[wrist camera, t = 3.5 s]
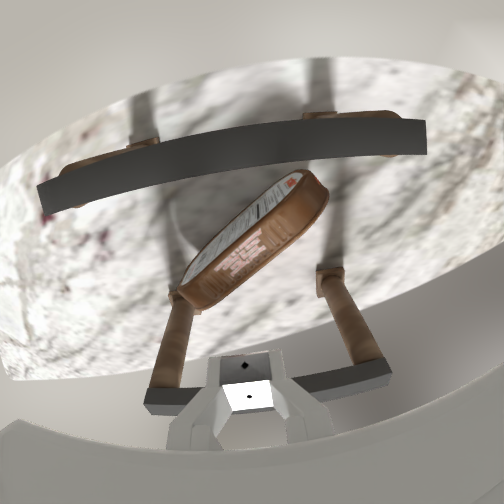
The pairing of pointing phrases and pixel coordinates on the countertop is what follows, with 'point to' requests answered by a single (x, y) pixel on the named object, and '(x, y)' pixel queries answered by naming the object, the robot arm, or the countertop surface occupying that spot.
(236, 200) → the countertop surface
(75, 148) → the countertop surface
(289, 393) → the robot arm
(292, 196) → the tin
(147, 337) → the countertop surface
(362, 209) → the countertop surface
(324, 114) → the wooden stanchion pair
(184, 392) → the dark grey beam
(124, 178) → the grey bar
